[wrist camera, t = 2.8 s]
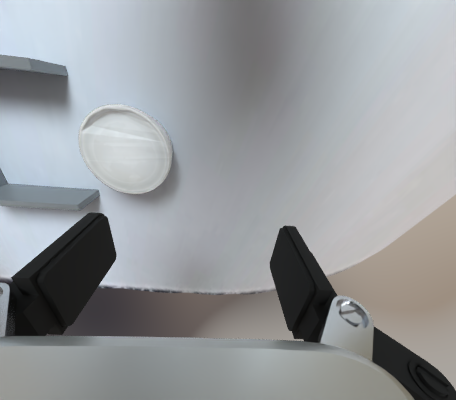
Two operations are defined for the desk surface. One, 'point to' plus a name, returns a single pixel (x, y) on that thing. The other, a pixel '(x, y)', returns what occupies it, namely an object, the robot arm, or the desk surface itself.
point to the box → (40, 195)
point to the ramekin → (125, 148)
